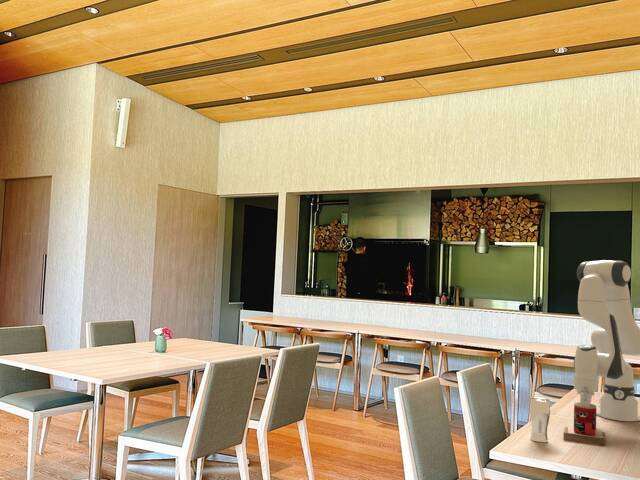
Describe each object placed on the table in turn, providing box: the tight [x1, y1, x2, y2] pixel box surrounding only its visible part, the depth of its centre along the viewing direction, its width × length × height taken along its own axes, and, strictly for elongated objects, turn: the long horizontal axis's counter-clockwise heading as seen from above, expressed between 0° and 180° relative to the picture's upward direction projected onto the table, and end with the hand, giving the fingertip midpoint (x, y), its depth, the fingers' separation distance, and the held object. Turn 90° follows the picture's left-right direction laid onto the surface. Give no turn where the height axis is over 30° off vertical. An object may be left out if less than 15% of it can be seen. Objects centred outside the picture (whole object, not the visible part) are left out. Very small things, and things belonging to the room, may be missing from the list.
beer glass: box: [529, 396, 551, 444], centre depth 220 cm, size 7×7×15 cm
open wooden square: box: [563, 426, 606, 447], centre depth 225 cm, size 10×14×2 cm
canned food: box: [573, 402, 597, 436], centre depth 234 cm, size 8×8×11 cm
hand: (585, 420), depth 242 cm, fingers closed
